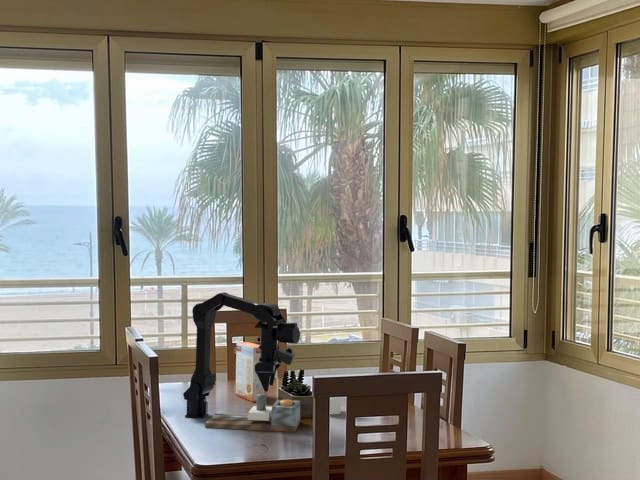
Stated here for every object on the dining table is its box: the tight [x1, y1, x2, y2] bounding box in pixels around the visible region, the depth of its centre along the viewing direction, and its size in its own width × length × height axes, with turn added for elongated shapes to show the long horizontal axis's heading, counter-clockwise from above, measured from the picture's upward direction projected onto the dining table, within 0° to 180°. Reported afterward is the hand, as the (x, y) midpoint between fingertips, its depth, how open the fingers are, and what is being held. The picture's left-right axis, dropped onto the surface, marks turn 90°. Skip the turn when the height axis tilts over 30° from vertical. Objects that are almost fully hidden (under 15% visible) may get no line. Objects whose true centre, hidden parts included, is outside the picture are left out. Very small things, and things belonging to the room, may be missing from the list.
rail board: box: [204, 399, 301, 433], centre depth 236 cm, size 30×12×8 cm, turn 84°
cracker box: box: [234, 341, 266, 403], centre depth 274 cm, size 14×6×21 cm, turn 35°
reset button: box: [280, 398, 292, 406], centre depth 235 cm, size 4×4×2 cm
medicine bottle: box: [330, 397, 342, 416], centre depth 253 cm, size 7×7×12 cm
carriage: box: [247, 393, 272, 421], centre depth 236 cm, size 7×9×7 cm
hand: (268, 388), depth 235 cm, fingers open, 9 cm apart
